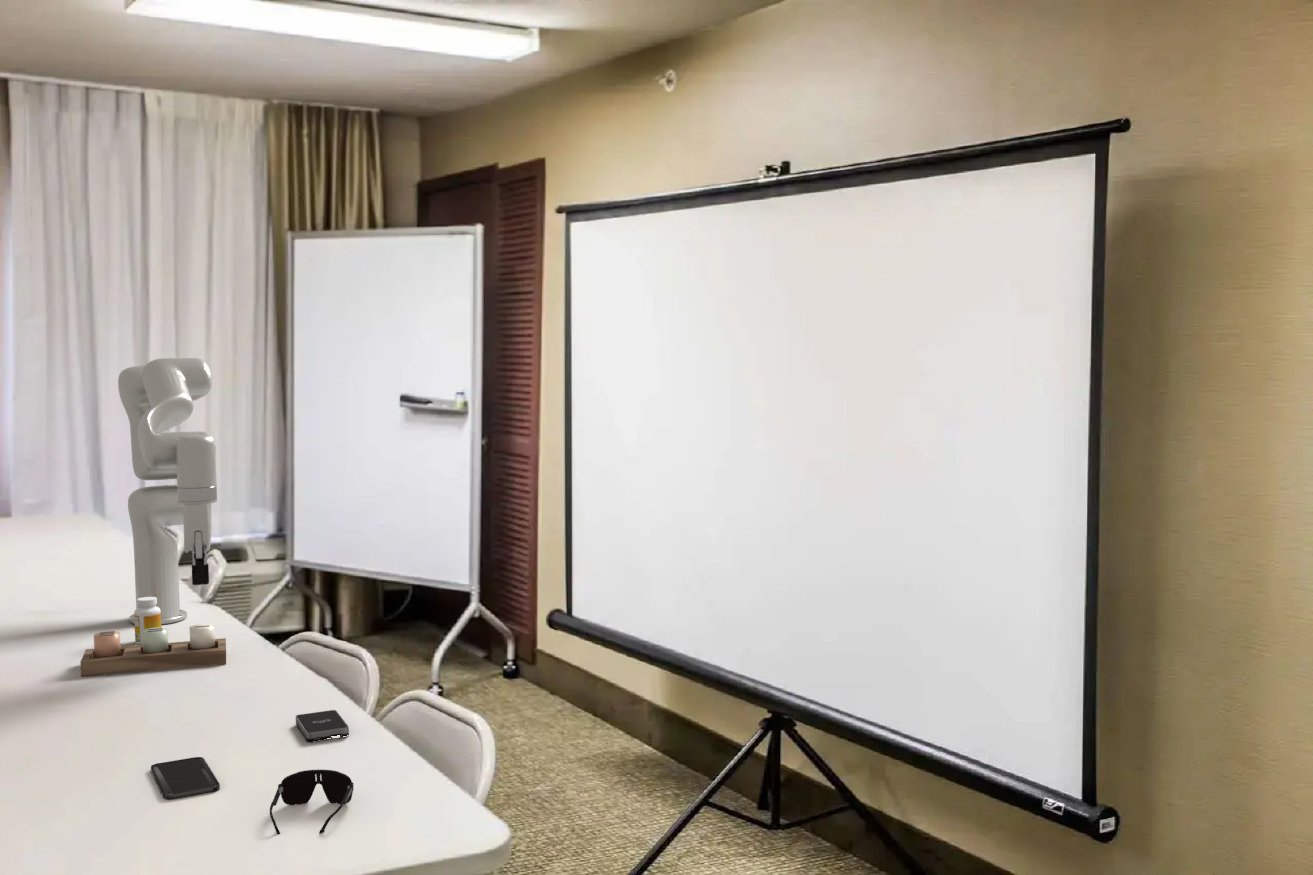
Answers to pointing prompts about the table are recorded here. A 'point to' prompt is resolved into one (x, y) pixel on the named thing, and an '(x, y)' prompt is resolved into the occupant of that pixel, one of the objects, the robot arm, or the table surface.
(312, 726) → the external hard drive
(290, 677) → the table surface
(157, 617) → the supplement bottle
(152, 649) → the button
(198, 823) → the table surface
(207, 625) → the button
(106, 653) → the button
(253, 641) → the table surface
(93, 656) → the button board
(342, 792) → the sunglasses
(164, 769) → the phone
